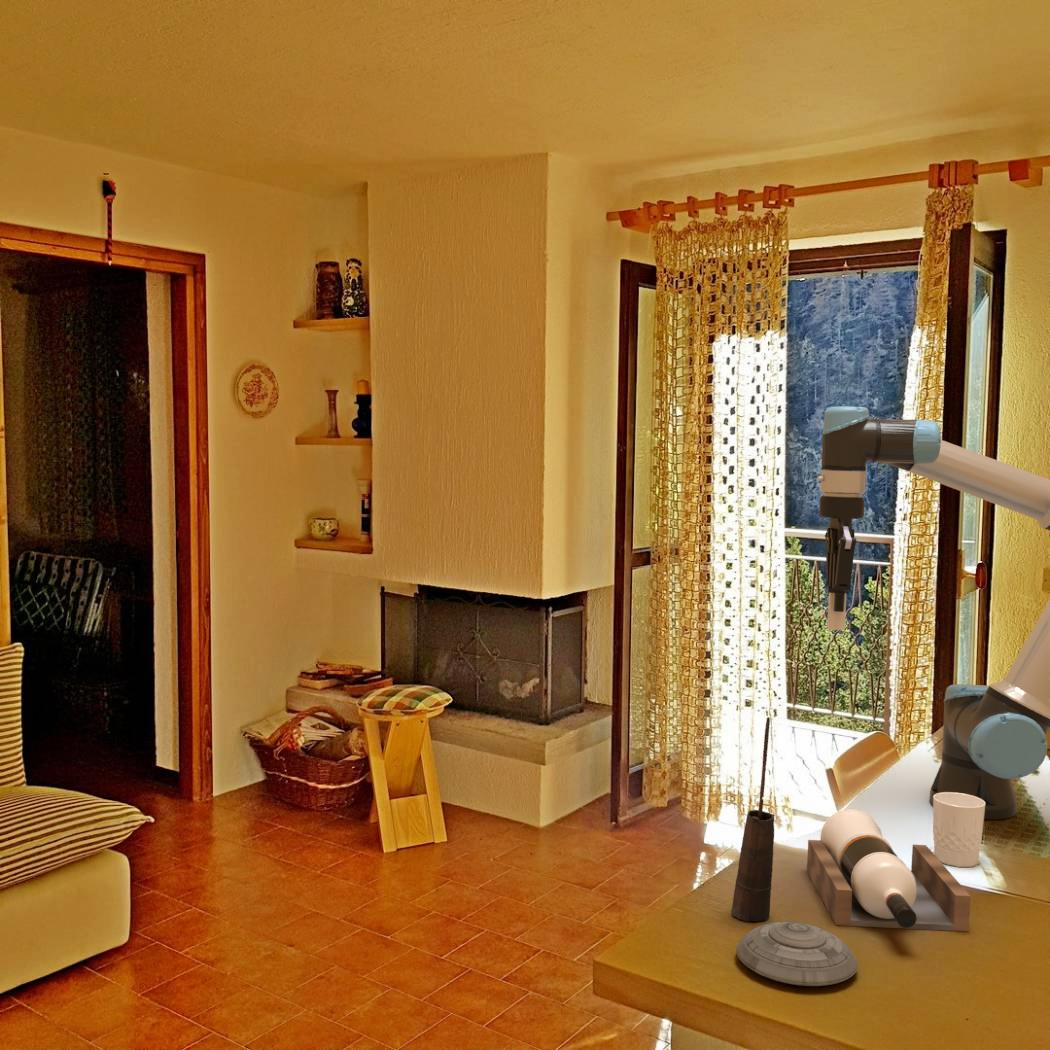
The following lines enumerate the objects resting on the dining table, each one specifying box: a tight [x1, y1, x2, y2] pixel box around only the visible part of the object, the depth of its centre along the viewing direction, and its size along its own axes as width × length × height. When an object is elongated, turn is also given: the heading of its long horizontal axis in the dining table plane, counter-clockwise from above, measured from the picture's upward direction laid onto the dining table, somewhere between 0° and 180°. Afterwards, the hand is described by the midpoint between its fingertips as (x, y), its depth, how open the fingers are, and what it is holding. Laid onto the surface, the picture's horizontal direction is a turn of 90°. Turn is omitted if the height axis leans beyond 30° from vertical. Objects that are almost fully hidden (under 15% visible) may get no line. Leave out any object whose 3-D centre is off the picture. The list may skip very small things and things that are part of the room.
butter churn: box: [731, 716, 775, 923], centre depth 155 cm, size 9×10×28 cm
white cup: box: [932, 792, 986, 868], centre depth 180 cm, size 8×8×10 cm
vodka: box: [820, 808, 917, 929], centre depth 160 cm, size 9×9×30 cm
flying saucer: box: [735, 920, 859, 987], centre depth 141 cm, size 15×15×6 cm
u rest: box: [806, 839, 971, 933], centre depth 163 cm, size 20×18×5 cm
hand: (836, 629), depth 196 cm, fingers closed
